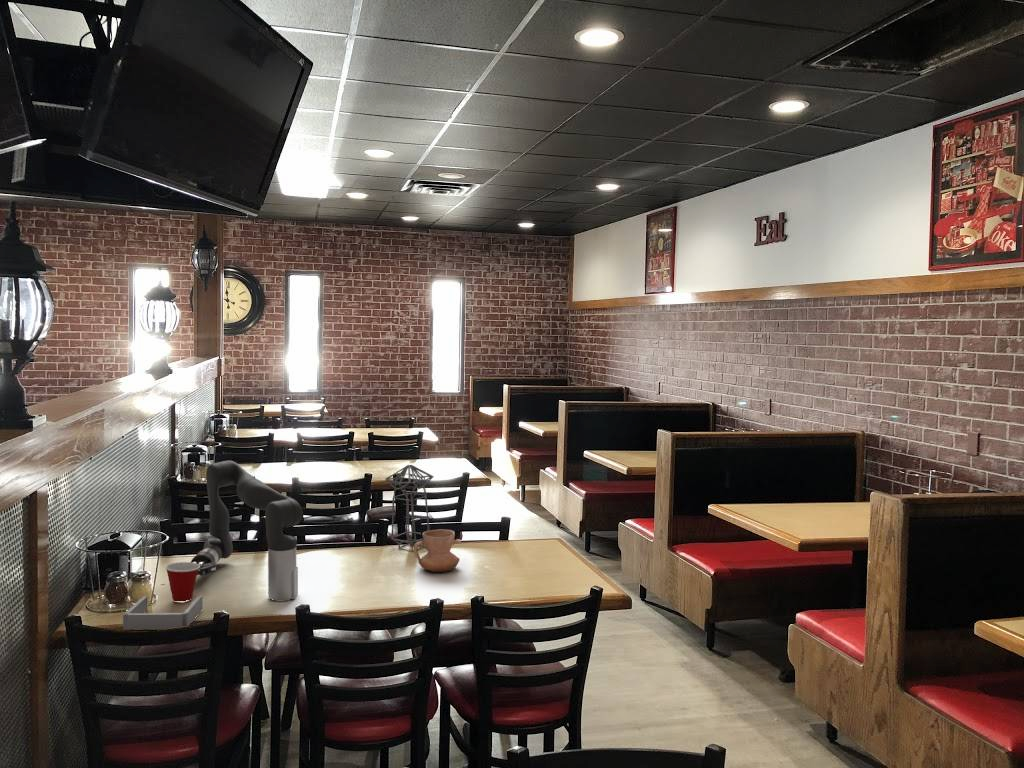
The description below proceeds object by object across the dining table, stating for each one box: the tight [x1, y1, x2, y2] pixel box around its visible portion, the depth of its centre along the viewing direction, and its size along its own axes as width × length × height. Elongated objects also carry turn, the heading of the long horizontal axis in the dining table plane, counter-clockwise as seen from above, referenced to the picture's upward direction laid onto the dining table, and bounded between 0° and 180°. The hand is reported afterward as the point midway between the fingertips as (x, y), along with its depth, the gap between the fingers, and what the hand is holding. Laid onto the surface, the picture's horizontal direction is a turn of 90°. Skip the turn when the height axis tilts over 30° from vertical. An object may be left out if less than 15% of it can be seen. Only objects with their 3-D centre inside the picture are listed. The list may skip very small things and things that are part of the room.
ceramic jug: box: [413, 529, 462, 573], centre depth 302 cm, size 18×14×14 cm
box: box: [122, 595, 204, 630], centre depth 247 cm, size 18×16×5 cm
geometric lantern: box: [384, 464, 435, 552], centre depth 329 cm, size 16×16×35 cm
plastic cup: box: [164, 561, 200, 602], centre depth 265 cm, size 11×11×12 cm
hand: (189, 576), depth 271 cm, fingers closed
